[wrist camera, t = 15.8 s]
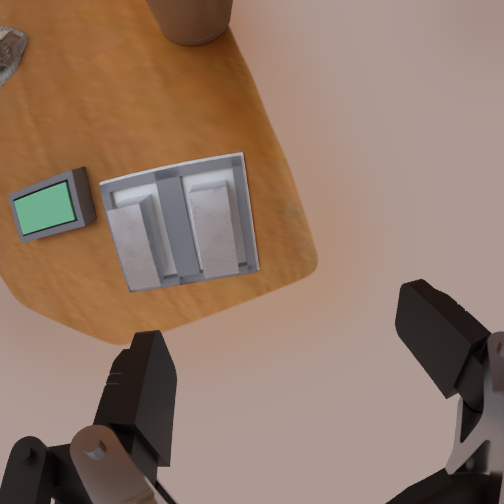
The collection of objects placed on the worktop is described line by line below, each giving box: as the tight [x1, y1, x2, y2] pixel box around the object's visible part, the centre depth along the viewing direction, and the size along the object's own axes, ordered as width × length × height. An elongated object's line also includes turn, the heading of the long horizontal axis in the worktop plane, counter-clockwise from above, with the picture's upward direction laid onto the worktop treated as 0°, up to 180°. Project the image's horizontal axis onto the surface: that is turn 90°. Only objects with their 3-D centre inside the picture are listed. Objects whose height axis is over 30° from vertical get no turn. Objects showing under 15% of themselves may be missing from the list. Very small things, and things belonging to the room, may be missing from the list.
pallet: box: [99, 152, 259, 292], centre depth 36 cm, size 16×19×2 cm
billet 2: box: [189, 179, 239, 278], centre depth 34 cm, size 4×10×6 cm, turn 7°
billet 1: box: [107, 193, 168, 290], centre depth 33 cm, size 10×4×6 cm, turn 8°
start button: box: [14, 181, 77, 235], centre depth 31 cm, size 5×10×2 cm, turn 98°
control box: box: [8, 167, 97, 243], centre depth 32 cm, size 7×12×4 cm, turn 98°
